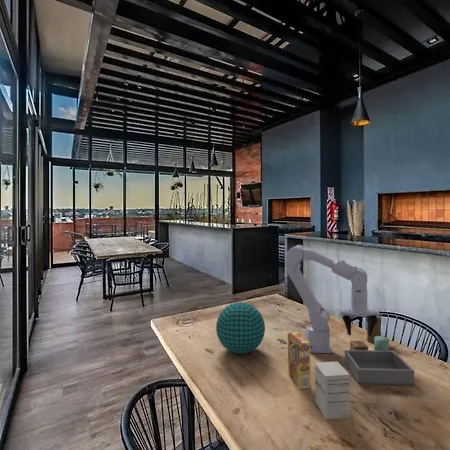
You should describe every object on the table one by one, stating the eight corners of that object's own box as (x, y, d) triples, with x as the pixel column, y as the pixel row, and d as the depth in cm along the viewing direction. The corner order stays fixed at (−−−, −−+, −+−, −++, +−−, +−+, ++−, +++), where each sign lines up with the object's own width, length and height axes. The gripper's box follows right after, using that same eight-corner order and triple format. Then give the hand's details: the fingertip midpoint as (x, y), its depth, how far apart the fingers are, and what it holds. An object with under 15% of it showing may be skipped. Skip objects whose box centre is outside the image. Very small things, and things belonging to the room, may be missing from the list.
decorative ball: (206, 352, 121) (205, 304, 120) (238, 336, 136) (237, 293, 135) (244, 369, 108) (243, 315, 107) (274, 349, 122) (274, 302, 121)
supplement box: (314, 403, 88) (314, 362, 87) (338, 401, 89) (338, 360, 88) (325, 420, 81) (324, 376, 80) (350, 418, 81) (350, 374, 81)
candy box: (311, 388, 95) (311, 342, 95) (299, 390, 94) (298, 343, 94) (298, 373, 104) (298, 331, 103) (287, 375, 103) (287, 332, 102)
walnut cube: (354, 359, 113) (354, 346, 113) (350, 352, 118) (350, 340, 118) (368, 359, 113) (368, 346, 113) (363, 353, 118) (363, 340, 118)
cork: (384, 344, 125) (384, 319, 124) (368, 343, 126) (368, 318, 125) (379, 338, 131) (379, 314, 130) (365, 337, 132) (365, 313, 131)
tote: (358, 384, 97) (358, 369, 97) (344, 362, 110) (344, 350, 110) (414, 385, 96) (414, 370, 95) (393, 363, 109) (393, 350, 109)
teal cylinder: (377, 359, 113) (377, 341, 112) (372, 353, 118) (372, 335, 117) (391, 359, 112) (391, 341, 112) (385, 353, 117) (385, 336, 117)
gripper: (343, 303, 111) (343, 338, 112) (383, 303, 110) (383, 339, 111) (337, 297, 118) (337, 331, 119) (374, 297, 117) (374, 331, 118)
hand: (359, 334), depth 115 cm, fingers open, 7 cm apart
